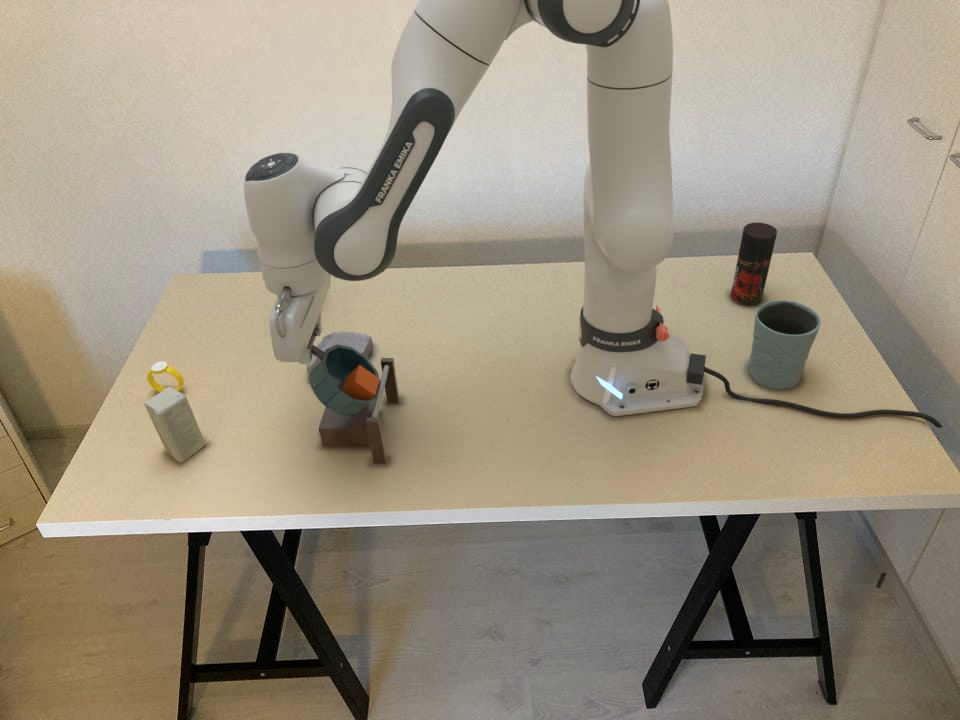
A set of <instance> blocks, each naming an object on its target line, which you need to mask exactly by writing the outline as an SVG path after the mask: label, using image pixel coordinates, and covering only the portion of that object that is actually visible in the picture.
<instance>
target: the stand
mask: <svg viewBox="0 0 960 720" xmlns="http://www.w3.org/2000/svg"><path fill="white" fill-rule="evenodd" d="M385 365H388V366H389V371H388V375H387V380H386V384H385V388H384V392H385V397H386V403H389V404H390V403H391V404H392V403H394V404H395V403H396V404H398V403H399V402H400V393H399V387H398V381H397V374H396V367H395V359H394V357H381V358H380V367H381V372H383V368H384V366H385ZM374 405H375V402H374V403H373V404H372V405H371V406H370V407H368V408H367V409H366V410H365V411H363V412H362V413H360V414H359V415H357V416H353V417H346V416H342V415H339V414H336V413H334V412H333V411H331V410H329V409H328V408H327V407H325V406H324V411H323V414H322V416H321V420H320V423H319V426H318V433H319V436H320V440H321V445H322V447H351V448H352V447H354V448H355V447H357V448H359V447H360V448H362V447H364V448H370V454H371V458H372V463H373V464H386V463H387V454H386V448H385V443H384V441H385V440H384V436H383V430H382V424H381V419H380V412H379V413H378V417H372V413H373V409H374Z"/></svg>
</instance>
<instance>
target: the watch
mask: <svg viewBox="0 0 960 720" xmlns="http://www.w3.org/2000/svg"><path fill="white" fill-rule="evenodd" d="M163 373H167V374H169V375H170V376H172V377H173V378H175V380H176V382H177V384H178V387H173V388H174V389H176V390H178V391H179V392H181V390H182V388H183V387H184V384H185V380H184V377H183V376H182V374H181V372H179V371H178V370H177V369H176V368H175V367H173V366H170V365H168V362H167V361H163V360H162V361H157V362H155V363H153V364H152V366H151V367H150V369H149V371H148V372H147V375H146V380H147V383H148V384H149V386H150V387H151V388H152V389H153V390H154V391H156V392H157V393H160V392H162V391H163V390H165V389H166V388H167V387H165V386H163V385H161V384H159V382H158V381H156V380H155V378H154V376H153V374H155V375H160V374H163Z"/></svg>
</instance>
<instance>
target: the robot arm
mask: <svg viewBox="0 0 960 720" xmlns="http://www.w3.org/2000/svg"><path fill="white" fill-rule="evenodd" d="M532 22H535V23H537V24H539V25H540V26H541V27H544V28H546V29H547V30H548V31H549V32H550V33H551V34H552V35H553V36H555V37H556V38H558V39H560V40H562V41H564V42H568V43H572V44H577V45H585V49H586V53H587V55H586V57H587V58H586V118H587V119H586V120H587V121H586V122H587V123H586V125H587V128H586V129H587V142H588V152H589V163H588V165H587V166H586V170H585V174H584V180H583V251H584V252H583V253H584V281H583V283H584V288H583V305H582V307H581V309H580V315H579V319H578V340H579V345H578V351H577V355H576V358H575V362H574V365H573V367H572V369H571V371H570V377H569V378H570V384H571V385H572V388H573V389H574V391H575V392H576V393H577V394H578V395H580V397H582V398H584V399H585V400H587V401H588V402H590V403H593V404H596V405H597V406H599V407H601V409H602V410H604V411H605V412H606V413H607V414H608V415H610V416H613V417H622V416H628V415H630V416H631V415H637V414H645V413H653V412H660V411H668V410H676V409H685V408H692V407H696V406H698V405H699V404H700V402H701V400H702V398H703V395H704V376H705V373H706V374H708V375H710V376H712V377H715V378H717V379H718V380H720V381H721V382H722V383H723V385H724V390H725V393H726V394H727V395H728V396H730V397H731V398H733V399H735V400H739V401H746V402H751V403H757V404H763V405H776V406H781V407H787V408H791V409H795V410H799V411H803V412H806V413H809V414H813V415H817V416H822V417H826V418H834V419H859V418H865V417H871V416H883V415H884V416H885V415H886V416H887V415H889V416H901V417H913V418H919V419H923V420H926V421H927V422H930V423H931V424H932V425H933V426H934V427H935V428H939V429H941V428H943V426H942V424H941V423H940V422H939V420H938V419H936V418H935V417H933V416H931V415H928V414H927V413H922V412H918V411H912V410H901V409H900V410H899V409H874V410H866V411H861V412H849V413H848V412H847V413H846V412H845V413H843V412H842V413H841V412H833V411H827V410H821V409H817V408H813V407H810V406H806V405H803V404H798V403H794V402H790V401H786V400H779V399H770V398H754V397H747V396H743V395H740V394H738V393H735V392H734V391H732V389H731V385H730V381H729V380H728V379H727V378H726V376H725V375H723V374H722V373H720V372H719V371H715V370H713V369H711V368H709V367H707V366H706V358H707V356H706V355H705V354H698V353H690V352H689V348H688V347H687V345H686V343H685V341H684V340H683V339H682V337H680V335H678V334H676V333H674V332H673V331H671V330H669V329H668V326H666V325H664V324H665V323H664V322H665V321H664V316H663V314H661V311H660V308H659V306H658V305H657V304H656V305H655V309H654V300H655V291H656V285H657V284H656V283H657V266H659V265H660V264H661V263H662V262H664V260H665V259H666V258H667V257H668V256H669V255H670V252H671V251H672V249H673V245H674V237H675V236H674V235H675V234H674V233H675V232H674V231H675V230H674V211H673V210H674V209H673V208H674V206H673V205H674V204H673V197H674V196H673V171H672V169H673V168H672V154H671V141H670V140H671V139H670V137H671V136H670V129H671V128H670V124H671V109H672V108H671V105H672V90H673V89H672V88H673V87H672V86H673V71H674V70H673V69H674V41H673V40H674V37H673V26H672V16H671V10H670V2H669V0H419V1H418V2H417V4H416V6H415V8H414V10H413V11H412V12H411V15H410V17H409V18H408V20H407V22H406V24H405V26H404V28H403V30H402V32H401V35H400V37H399V40H398V42H397V44H396V48H395V51H394V54H393V57H392V59H391V70H390V71H391V72H390V73H391V110H390V119H389V124H388V128H387V132H386V133H385V137H384V139H383V142H382V144H381V146H380V148H379V150H378V151H377V153H376V155H375V156H374V159H373V160H372V162H371V165H370V167H369V169H368V170H367V172H366V171H364V170H362V169H360V168H356V167H351V166H349V167H348V166H345V167H333V166H332V167H331V166H326V165H322V164H318V163H313V162H311V161H308V160H306V159H304V158H303V157H301V156H300V155H298V154H297V153H294V152H293V153H292V152H278V153H273V154H270V155H267V156H265V157H263V158H260V159H259V160H258V161H257V162H255V163H254V164H252V165H251V167H250V168H249V169H248V171H247V172H246V174H245V177H244V180H243V195H244V196H243V197H244V202H245V203H244V204H245V208H246V214H247V217H248V218H247V219H248V222H249V226H250V230H251V232H252V233H251V234H253V236H254V239H255V240H256V243H257V250H256V251H257V258H258V263H259V266H260V270H261V271H260V272H261V274H262V280H263V281H264V282H263V283H264V287H265V289H267V291H269V292H270V293H272V294H274V295H275V296H277V298H276V300H275V302H274V304H273V307H272V309H271V310H270V315H269V318H268V319H269V321H268V323H269V333H270V339H271V345H272V350H273V356H274V358H275V359H276V360H277V362H280V363H298V364H299V365H307V364H310V362H311V359H312V352H311V349H308V348H307V346H308V343H309V341H310V338H311V335H312V333H313V331H314V332H315V333H316V337H320V336H321V334H322V332H323V325H322V310H323V306H324V305H325V302H326V299H327V296H328V293H329V290H330V289H331V283H332V277H335V278H337V279H339V280H343V281H347V282H360V281H367V280H371V279H373V278H375V277H377V276H380V274H382V273H384V272H385V271H386V270H387V269H388V268H389V267H390V265H391V264H392V262H393V260H394V258H395V255H396V252H397V245H398V236H399V231H400V227H401V224H402V222H403V220H404V218H405V215H406V214H407V212H408V210H409V208H410V207H411V204H412V203H413V201H414V199H415V197H416V195H417V194H418V192H419V190H420V188H421V186H422V185H423V182H424V181H425V179H426V177H427V175H428V173H429V171H430V170H431V168H432V166H433V164H434V163H435V161H436V159H437V157H438V155H439V153H440V151H441V150H442V148H443V145H444V143H445V141H446V139H447V137H448V136H449V134H450V132H451V130H452V129H453V127H454V125H455V123H456V121H457V119H458V118H459V115H460V114H461V112H462V110H463V109H464V107H465V106H466V104H467V102H468V100H469V99H470V98H471V97H472V94H473V93H474V91H475V90H476V88H477V86H478V85H479V83H480V82H481V80H482V79H483V77H484V76H485V74H486V73H487V71H488V70H489V68H490V66H491V64H492V63H493V61H494V60H495V58H496V57H497V55H498V54H499V51H500V49H501V48H502V46H503V44H504V43H505V41H507V40H508V39H509V38H510V36H511V35H512V34H514V32H515V31H517V30H518V29H520V28H521V27H522V26H523V27H524V25H526V24H529V23H532ZM887 573H888V572H881V574H880V575H879V578H878V580H877V582H876V585H875V588H876V589H881V587H882V586H883V583H884V581H885V579H886V576H887Z"/></svg>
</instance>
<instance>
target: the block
mask: <svg viewBox="0 0 960 720" xmlns="http://www.w3.org/2000/svg"><path fill="white" fill-rule="evenodd" d="M379 379H380V380H381V377H379V378H378V377H377V376H375V375H374V374H372V373H371V372H369V371H368V370H366V369H365V368H363V367H362V366H360V365H359V366H358V367H357V368H356V369H355V370H354V371H353V372H352V373H350V374H349V375H348V376H347V377H346V378H345V381H344V384H343V387H342V390H341V391H342V392H344V393H345V394H347V395H348V396H350V397H352V398H353V399H357V400H364V401H368V400H369V399H371V398H373V397H374V396H375V395H376V391H377V387H378V383H379Z"/></svg>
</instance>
